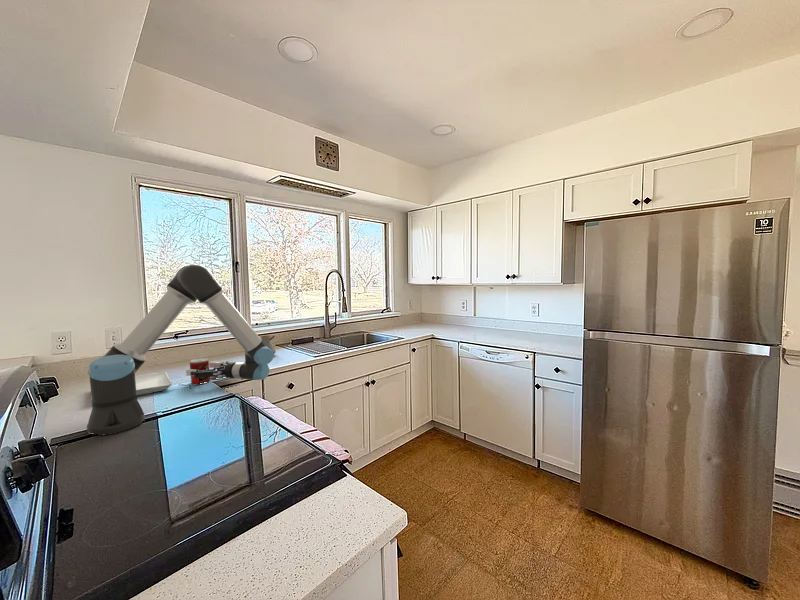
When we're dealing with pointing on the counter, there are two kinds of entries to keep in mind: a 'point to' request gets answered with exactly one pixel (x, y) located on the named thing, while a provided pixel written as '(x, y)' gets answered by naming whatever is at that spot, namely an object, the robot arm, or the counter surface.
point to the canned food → (200, 365)
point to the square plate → (151, 383)
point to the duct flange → (218, 377)
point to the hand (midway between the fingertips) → (198, 368)
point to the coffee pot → (268, 342)
